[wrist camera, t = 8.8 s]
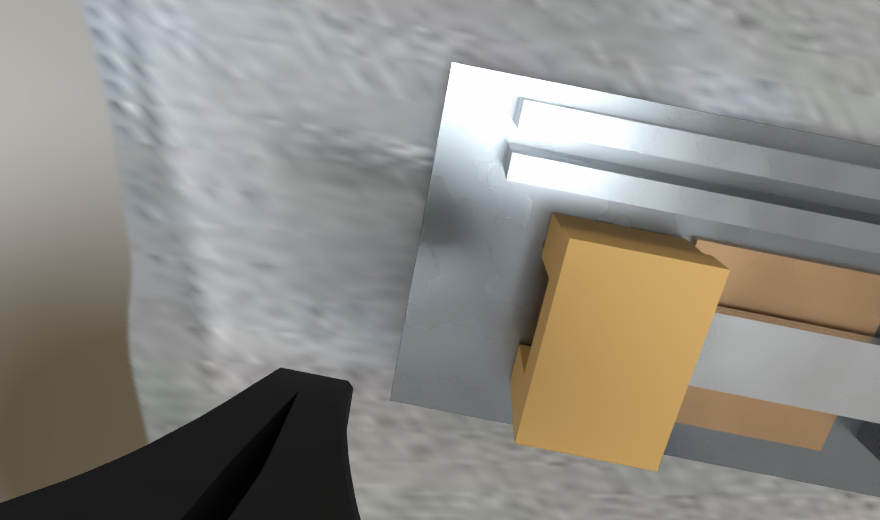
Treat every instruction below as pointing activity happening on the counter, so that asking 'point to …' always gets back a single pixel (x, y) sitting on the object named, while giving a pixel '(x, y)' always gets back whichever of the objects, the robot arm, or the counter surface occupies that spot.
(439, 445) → the counter surface
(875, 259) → the grey fixture base plate
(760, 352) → the strap
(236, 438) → the robot arm
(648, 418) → the clip
